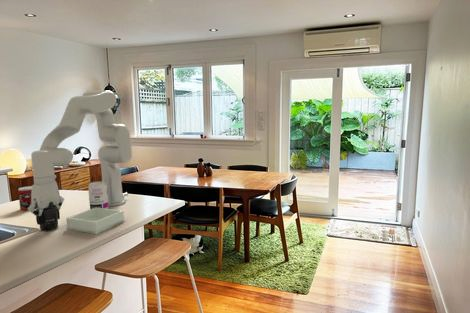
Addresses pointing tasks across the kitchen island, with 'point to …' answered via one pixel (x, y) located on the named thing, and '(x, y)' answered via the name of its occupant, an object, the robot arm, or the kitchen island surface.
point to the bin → (95, 220)
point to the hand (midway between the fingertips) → (48, 221)
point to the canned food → (25, 197)
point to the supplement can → (98, 195)
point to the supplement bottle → (49, 218)
